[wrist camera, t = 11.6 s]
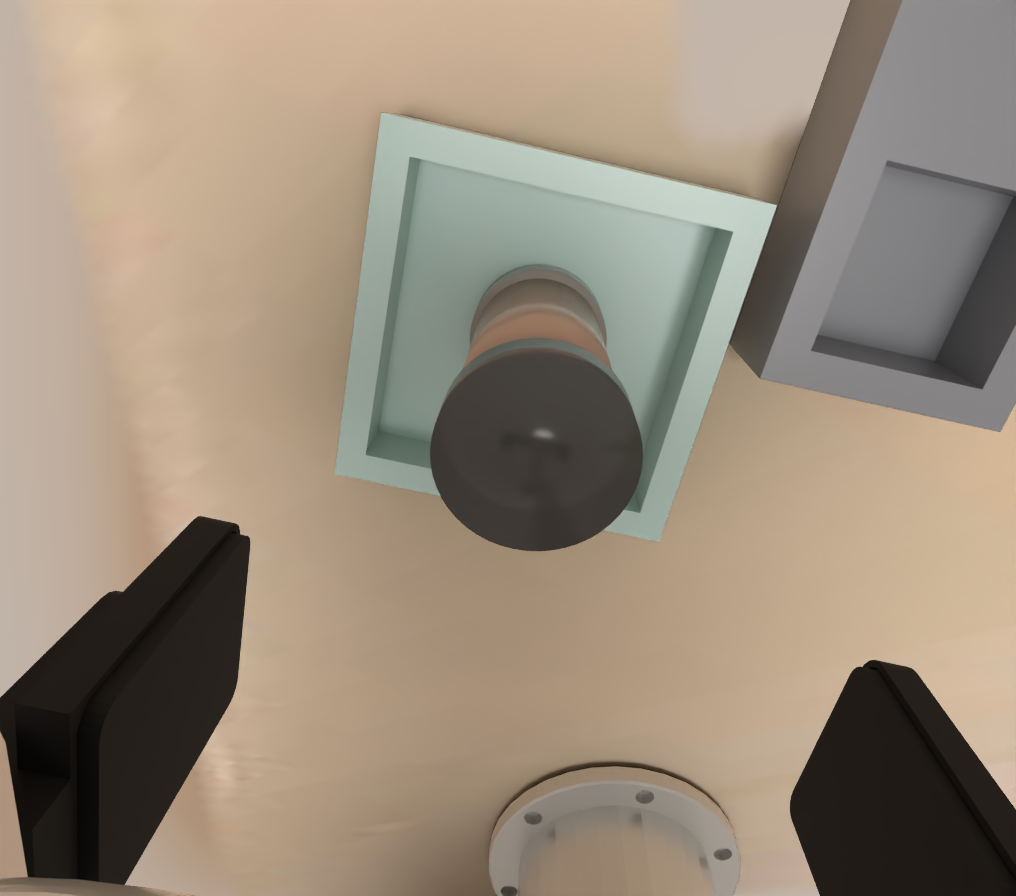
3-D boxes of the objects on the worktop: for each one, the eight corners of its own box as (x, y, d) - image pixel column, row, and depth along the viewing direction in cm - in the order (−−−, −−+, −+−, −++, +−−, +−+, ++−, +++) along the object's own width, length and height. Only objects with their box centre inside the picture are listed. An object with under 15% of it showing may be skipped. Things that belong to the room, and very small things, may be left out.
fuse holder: (937, 390, 27) (1000, 432, 23) (729, 344, 26) (759, 378, 23) (1237, -225, 20) (1397, -306, 16) (956, -302, 19) (1054, -402, 16)
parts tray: (647, 503, 29) (659, 542, 26) (354, 440, 29) (334, 474, 26) (750, 196, 24) (776, 205, 22) (399, 114, 24) (381, 112, 21)
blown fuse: (584, 403, 27) (610, 568, 17) (462, 376, 27) (414, 527, 16) (618, 280, 25) (670, 384, 15) (487, 250, 25) (450, 335, 15)
